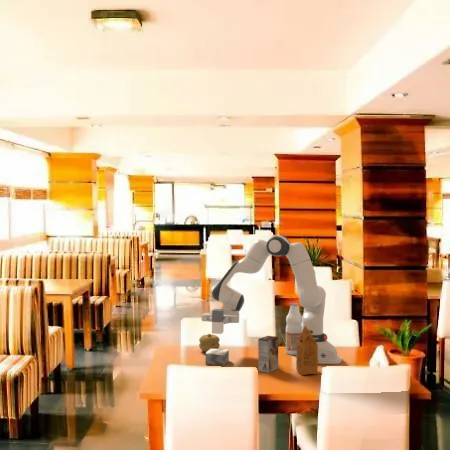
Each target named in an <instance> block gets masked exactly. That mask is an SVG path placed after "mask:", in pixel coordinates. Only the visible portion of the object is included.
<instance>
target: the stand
mask: <svg viewBox="0 0 450 450" xmlns="http://www.w3.org/2000/svg"><path fill="white" fill-rule="evenodd" d="M229 353H230V350H229V349H227V348H226V349H225V348H224V349H223V348H218V349H211V348H210V349H209V350H208V351H207V352H205V365H206V364H212V365H211V366H219V365H222V366H221V367H225V366H226V364H228V363H229V361H230V360H229V357H230V356H229V355H230V354H229Z"/></svg>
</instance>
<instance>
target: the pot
mask: <svg viewBox="0 0 450 450" xmlns="http://www.w3.org/2000/svg"><path fill="white" fill-rule="evenodd" d="M198 340H199V341H198V342H199V344H198V346H199V349H200V350H201V351H202V352H204V353H206V352H207V351H208V350H209V349H210V348H211V349H220V343H219V342H220V341H221V340H220V337H219V336H217V334H216V335H215V334H212V333H208V334H204V335H201V336H200V337H199V339H198Z"/></svg>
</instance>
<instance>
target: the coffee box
mask: <svg viewBox="0 0 450 450" xmlns="http://www.w3.org/2000/svg"><path fill="white" fill-rule="evenodd" d="M257 341H258V342H257V344H258V346H257V347H258V350H257V351H258V356H257V357H258V371H259V372H264V373H268V374H270V373H271V372H274V371H277V370H278V369H279V337H278V336H274V335H273V336H271V335H266V336H264V337H260V338H258V340H257Z"/></svg>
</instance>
